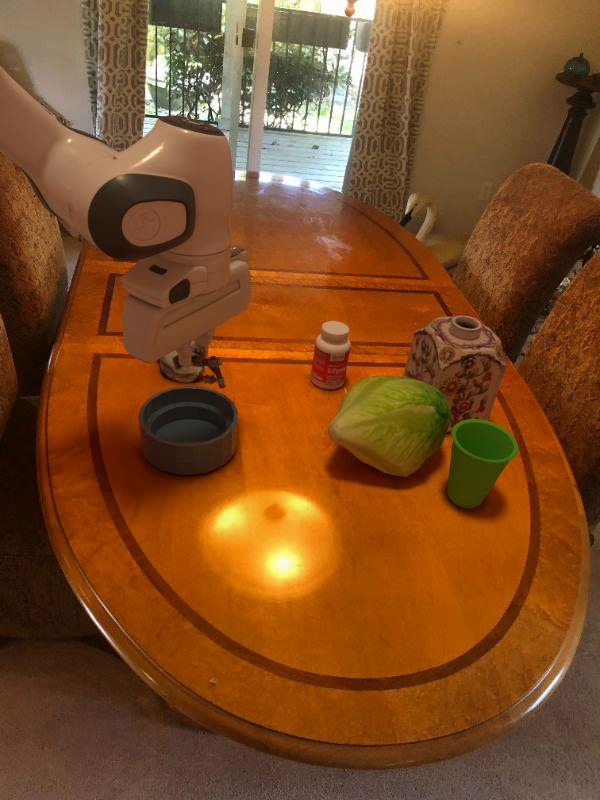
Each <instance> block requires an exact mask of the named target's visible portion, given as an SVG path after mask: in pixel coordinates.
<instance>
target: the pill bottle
mask: <svg viewBox="0 0 600 800" xmlns="http://www.w3.org/2000/svg"><path fill="white" fill-rule="evenodd" d="M349 333H350V327H349V326H348V324H346V323H343V322H341V321H337V320H328V321H326V322H324V323H322V325H321V329H320V334H319V335H317V337H316V339H315V342H314V350H313V357H312V365H311V372H310V380H311V382H312V383H313V384H314V385H315V386H316V387H317V388H320V389H323V390H337V389H339V388H341V387H342V386H343V385H344V383H345V381H346V376H347V369H348V365H349V359H350V358H349V357H350V354H351V346H352V343H351V340H350V338H349Z"/></svg>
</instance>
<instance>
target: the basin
mask: <svg viewBox="0 0 600 800" xmlns="http://www.w3.org/2000/svg"><path fill="white" fill-rule="evenodd" d="M238 424H239V411H238V409H237V406H236V404H235V403H234V401H233V400H231V399H230V397H228V396H227V395H225V394H223V393H221V392H220V391H218V390H216V389H213V388H209V387H206V386H205V387H204V386H197V385H196V386H195V385H181V386H174V387H172V386H171V387H170V388H167V389H163V390H161V391H158V392H156V393H155V394H153V395H151V396H150V397H148V398H147V399H146V401H144V402H143V404H142V405H141V406H140V409H139V413H138V430H139V444H140V448H141V449H140V450H141V452H142V455H143V457H144V458H145V459H146V460H147V461H148V462H149V464H150V465H152V466H153V467H156V468H157V469H159V470H160V471H164V472H168V473H170V474H174V475H183V476H184V475H185V476H186V475H189V476H192V475H193V476H194V475H200V474H205V473H209V472H212V471H214V470H217V469H218V468H221V467H223V466H224V465H225V464H226V463H227V462H228V461H230V460H231V459H232V458H233V456H234V454H235V452H236V450H237V445H238V444H237V443H238Z"/></svg>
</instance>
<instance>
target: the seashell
mask: <svg viewBox="0 0 600 800" xmlns="http://www.w3.org/2000/svg"><path fill="white" fill-rule="evenodd" d="M195 340H196V339H194V340H192V341H191V345H193V344H195ZM188 349H189V350H190V352H191V346H190V347H188ZM177 355H178V353H177V352H176V350H174V351H173V352H171V353H169V354H167V355H165V356H164V357H162V358H160V359H158V360H159V370H160V372H161V374H162V375H163V376H164V377H165V378H166V379H168V380H171V381H174V382H179V383H185V384H188V383H193V382H194V381H196V379H197V378H198V377H199V376H200V374H201V373H202V374H204V373H206V370H205V366H204V367H202V368H201V367H194V366H191V367H189V368H185V367H182V368H180V369H179V370H176V369H175V366H174V363H173V360H172V358H173V357H175V356H177Z"/></svg>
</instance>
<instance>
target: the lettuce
mask: <svg viewBox="0 0 600 800" xmlns="http://www.w3.org/2000/svg"><path fill="white" fill-rule="evenodd" d="M450 419H451V412H450V406H449V404H448V403H447V401H446V399H445V397H444V396H443V394H442V392H440V391H439V390H438V389H436V388H435V387H434V386H432V385H429V384H427V383H424V382H422V381H419V380H417V379H414V378H412V377H403V376H400V375H371V376H367V377H364V378H362V379H360V380H359V381H357V382H356V383H355V384H353V385H352V386H351V387H350V388H349V389H348V390H347V392H346V393H345V394H344V395H343V397H342V399H341V401H340V405H339V408H338V412H337V414H336V415H335V416H334V417H333V418H332V419H331V421H330V423H329V424H328V427H327V433H328V436H329V438H330V440H331V441H332V443H334V445H335V444H336V445H339V446H341V447H342V448H344V449H346V450H347V451H348V452H349V453H350V454H351V455H353V456H354V458H356V459H357V460H358V461H360V462H362V463H363V464H366V465H369V466H371V467H373V468H375V469H376V470H378V471H380V472H382V473H384V474H387V475H391V476H395V477H402V478H403V477H404V478H408V477H409V476H410V475H412V474H414V473H415V472H417V471H418V470H419V469H420V468H421V466H423V464H424V463H425V462H426V460H428V459H429V458H430V457H432V456H433V455H434V454H435V453H436V452H437V451H438V450H439V449H440V448H441V446H442V445H443V444H444V441H445V438H446V436H447V433H448V432H447V430H448V427H449V424H450Z"/></svg>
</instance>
